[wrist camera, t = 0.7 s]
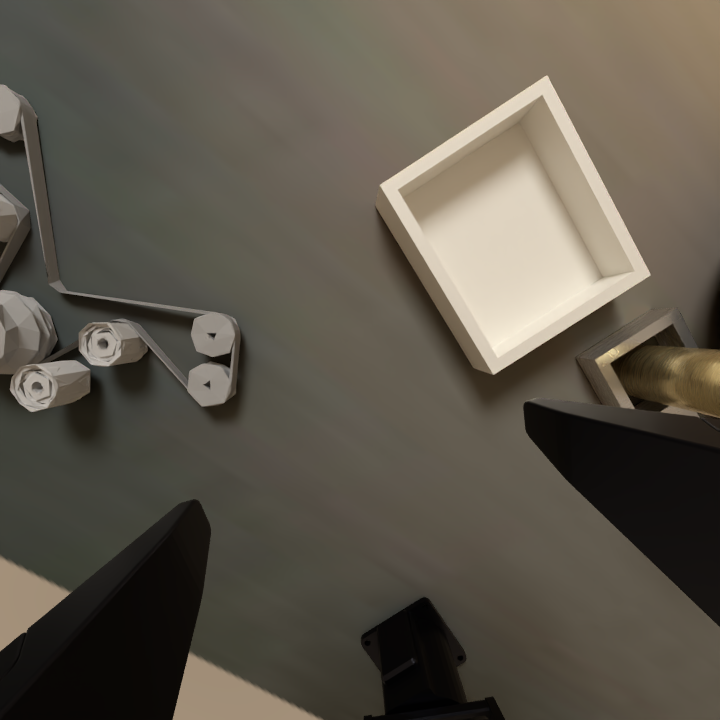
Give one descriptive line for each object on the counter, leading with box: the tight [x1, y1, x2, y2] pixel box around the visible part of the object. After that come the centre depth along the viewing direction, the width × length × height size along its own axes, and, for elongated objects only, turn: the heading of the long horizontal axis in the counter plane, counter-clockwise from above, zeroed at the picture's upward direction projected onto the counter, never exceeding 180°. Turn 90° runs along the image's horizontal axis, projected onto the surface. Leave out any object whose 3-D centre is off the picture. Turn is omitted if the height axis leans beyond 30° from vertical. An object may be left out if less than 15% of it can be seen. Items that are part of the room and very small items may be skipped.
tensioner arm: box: [576, 308, 700, 418], centre depth 25 cm, size 21×7×2 cm, turn 33°
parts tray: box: [375, 76, 651, 375], centre depth 23 cm, size 14×12×4 cm
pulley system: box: [0, 85, 241, 412], centre depth 22 cm, size 27×5×15 cm
